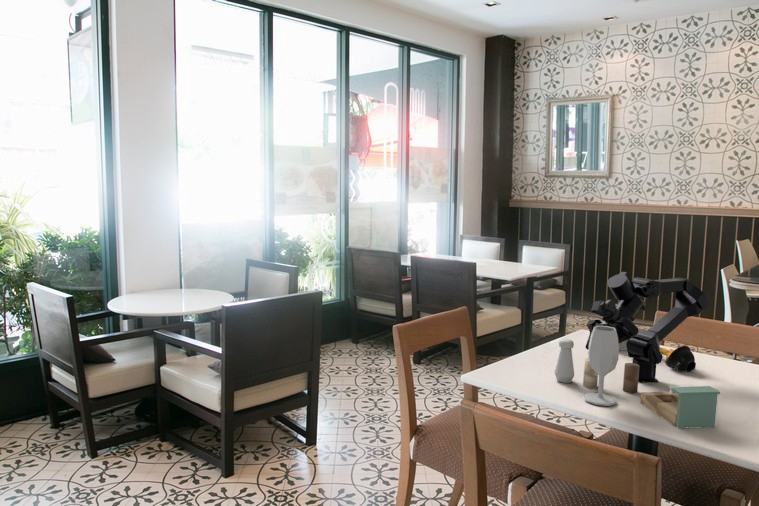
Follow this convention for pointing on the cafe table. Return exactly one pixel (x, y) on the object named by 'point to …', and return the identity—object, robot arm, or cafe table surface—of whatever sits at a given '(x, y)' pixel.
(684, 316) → the robot arm
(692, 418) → the teal l-shaped bracket
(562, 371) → the salt shaker
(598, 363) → the wineglass
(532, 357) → the cafe table surface
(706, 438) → the cafe table surface
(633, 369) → the walnut peg
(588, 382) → the maple peg
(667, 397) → the socket block
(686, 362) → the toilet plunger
